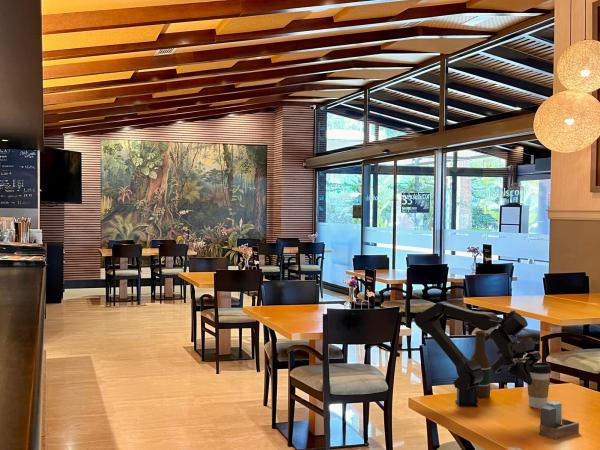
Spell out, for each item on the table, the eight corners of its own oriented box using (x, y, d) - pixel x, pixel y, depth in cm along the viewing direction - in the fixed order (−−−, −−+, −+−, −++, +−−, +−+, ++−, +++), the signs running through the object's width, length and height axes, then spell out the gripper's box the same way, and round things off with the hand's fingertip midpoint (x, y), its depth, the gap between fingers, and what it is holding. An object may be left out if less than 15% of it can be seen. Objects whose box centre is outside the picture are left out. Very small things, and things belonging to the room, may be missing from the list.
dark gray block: (540, 433, 204) (540, 407, 204) (547, 431, 206) (547, 405, 206) (548, 436, 202) (549, 409, 202) (555, 434, 204) (556, 408, 204)
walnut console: (539, 434, 204) (539, 424, 204) (562, 428, 210) (563, 418, 210) (555, 439, 199) (555, 429, 199) (578, 432, 206) (578, 423, 206)
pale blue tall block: (546, 427, 210) (546, 402, 210) (552, 425, 212) (553, 400, 212) (554, 430, 208) (554, 404, 208) (561, 428, 210) (561, 403, 210)
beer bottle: (478, 399, 242) (479, 333, 242) (464, 394, 249) (465, 330, 249) (494, 397, 246) (495, 332, 246) (479, 392, 253) (481, 329, 252)
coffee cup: (552, 410, 230) (553, 366, 230) (526, 408, 232) (527, 365, 231) (548, 403, 238) (549, 361, 238) (523, 402, 240) (524, 360, 240)
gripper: (499, 332, 215) (526, 373, 206) (537, 328, 225) (565, 367, 216) (480, 352, 222) (506, 393, 213) (518, 347, 232) (544, 385, 222)
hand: (531, 384), depth 216 cm, fingers closed
